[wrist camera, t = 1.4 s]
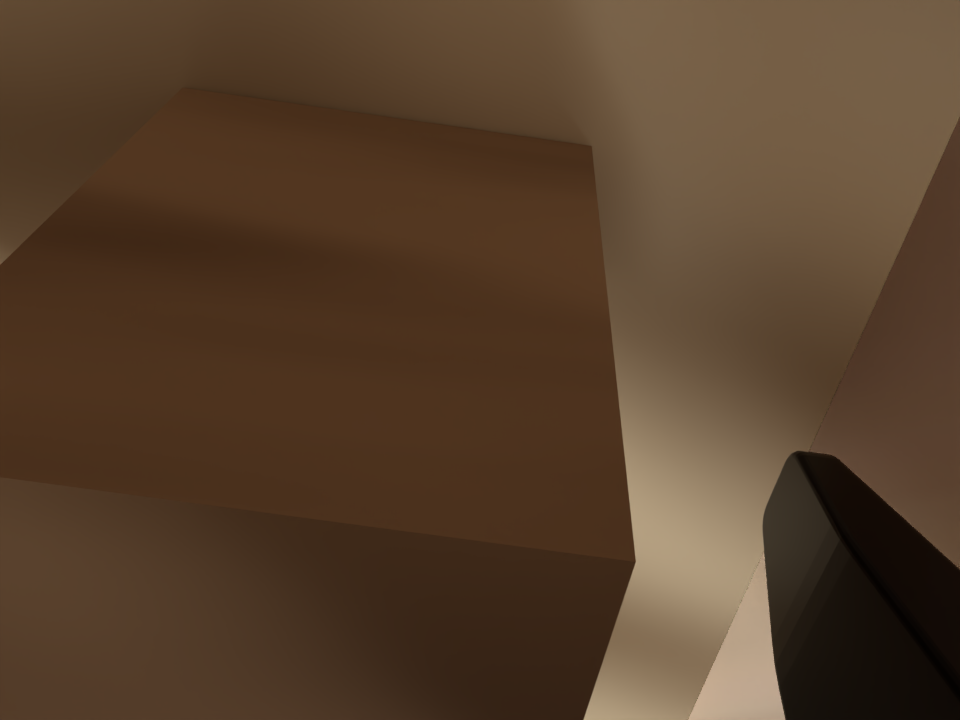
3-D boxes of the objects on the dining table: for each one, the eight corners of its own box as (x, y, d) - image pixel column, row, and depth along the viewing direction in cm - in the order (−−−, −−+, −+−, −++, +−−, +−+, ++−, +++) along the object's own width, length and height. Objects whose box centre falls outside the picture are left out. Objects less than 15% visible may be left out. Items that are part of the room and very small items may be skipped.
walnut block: (528, 452, 12) (515, 924, 7) (205, 408, 12) (-21, 856, 7) (592, 145, 10) (635, 563, 5) (182, 87, 10) (-193, 451, 5)
